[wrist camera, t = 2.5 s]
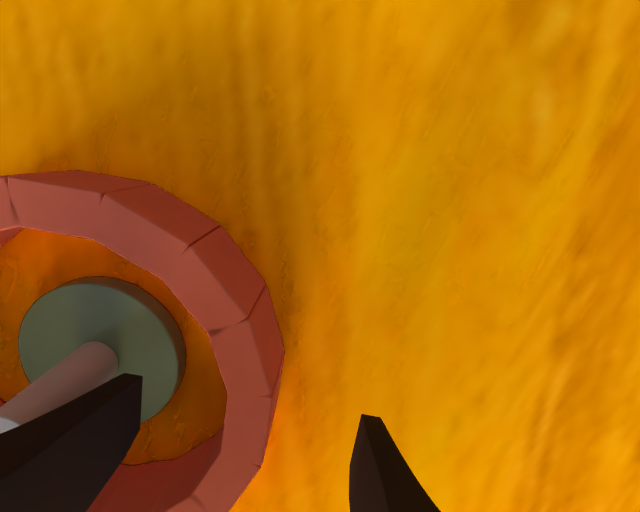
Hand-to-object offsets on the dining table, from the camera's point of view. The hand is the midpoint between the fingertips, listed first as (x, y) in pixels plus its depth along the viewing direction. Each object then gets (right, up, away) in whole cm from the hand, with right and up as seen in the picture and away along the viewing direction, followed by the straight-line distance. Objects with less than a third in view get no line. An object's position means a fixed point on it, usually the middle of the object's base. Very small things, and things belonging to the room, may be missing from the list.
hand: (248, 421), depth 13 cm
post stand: (-6, +2, +3) cm, 7 cm away
